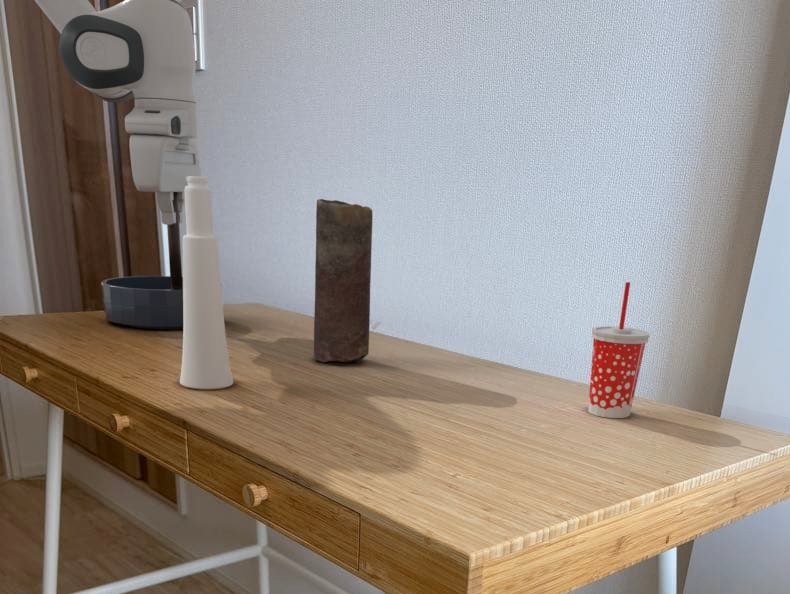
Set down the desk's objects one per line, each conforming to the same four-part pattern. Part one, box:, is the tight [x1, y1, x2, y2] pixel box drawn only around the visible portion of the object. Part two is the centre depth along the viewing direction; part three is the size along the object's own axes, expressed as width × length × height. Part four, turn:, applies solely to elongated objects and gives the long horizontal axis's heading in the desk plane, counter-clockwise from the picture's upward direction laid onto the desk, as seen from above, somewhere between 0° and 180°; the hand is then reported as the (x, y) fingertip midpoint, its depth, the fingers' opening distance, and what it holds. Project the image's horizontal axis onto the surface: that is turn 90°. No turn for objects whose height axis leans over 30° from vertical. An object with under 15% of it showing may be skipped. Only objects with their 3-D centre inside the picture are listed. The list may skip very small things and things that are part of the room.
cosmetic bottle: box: [179, 176, 234, 391], centre depth 92 cm, size 6×6×22 cm
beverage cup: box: [587, 281, 651, 419], centre depth 90 cm, size 6×6×14 cm
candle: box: [313, 198, 374, 363], centre depth 108 cm, size 8×7×20 cm
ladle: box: [166, 192, 183, 290], centre depth 129 cm, size 6×6×19 cm
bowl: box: [100, 275, 223, 330], centre depth 133 cm, size 18×18×6 cm
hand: (172, 224), depth 128 cm, fingers closed on ladle
